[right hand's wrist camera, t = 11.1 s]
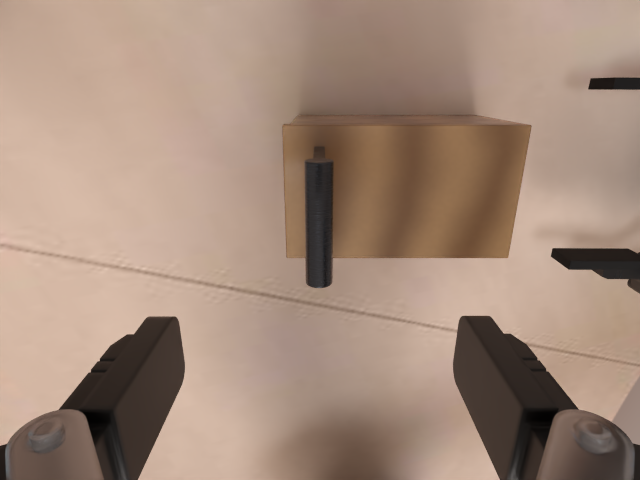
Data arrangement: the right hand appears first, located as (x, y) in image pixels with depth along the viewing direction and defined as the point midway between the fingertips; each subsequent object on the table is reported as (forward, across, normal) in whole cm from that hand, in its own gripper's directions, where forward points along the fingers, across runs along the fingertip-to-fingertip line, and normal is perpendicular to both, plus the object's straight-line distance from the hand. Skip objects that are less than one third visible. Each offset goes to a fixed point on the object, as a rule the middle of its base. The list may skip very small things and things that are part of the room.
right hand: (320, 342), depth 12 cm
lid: (+18, +6, 0) cm, 19 cm away
